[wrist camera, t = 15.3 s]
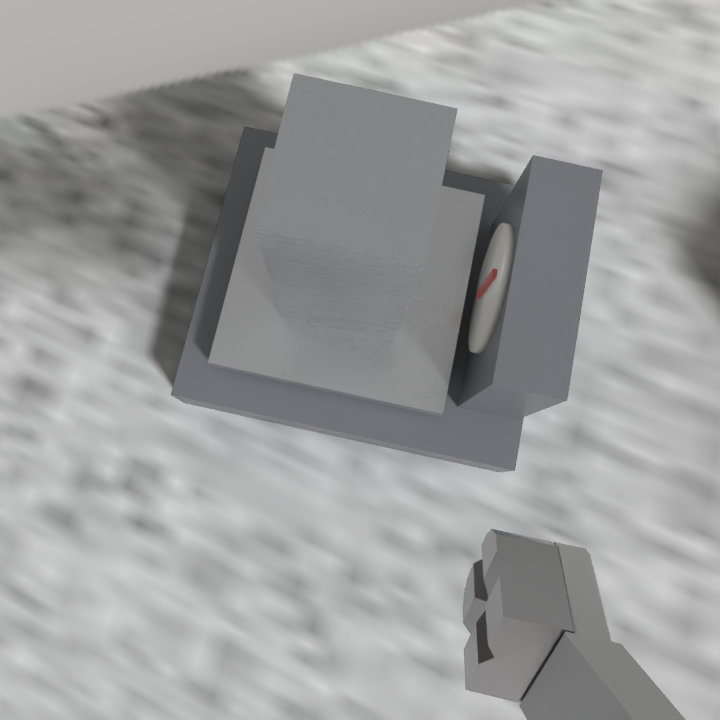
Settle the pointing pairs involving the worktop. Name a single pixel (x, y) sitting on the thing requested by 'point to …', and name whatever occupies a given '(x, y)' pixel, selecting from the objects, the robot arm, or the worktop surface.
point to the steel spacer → (351, 204)
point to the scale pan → (348, 349)
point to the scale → (476, 333)
